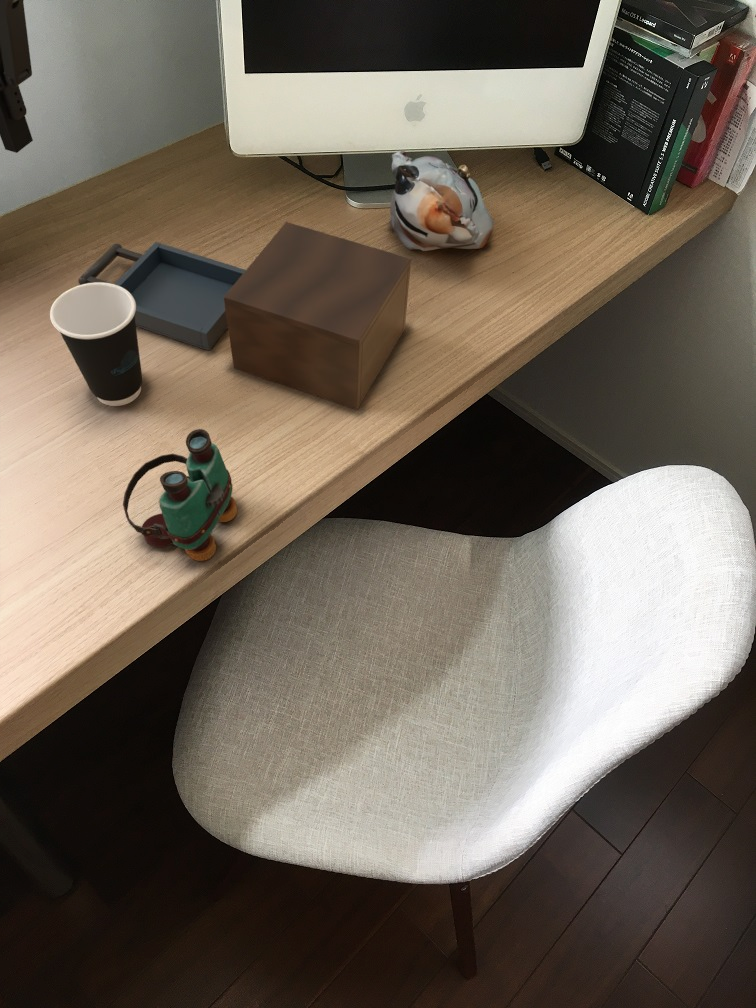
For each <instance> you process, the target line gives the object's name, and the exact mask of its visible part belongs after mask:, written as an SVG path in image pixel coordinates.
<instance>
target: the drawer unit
mask: <svg viewBox="0 0 756 1008" xmlns="http://www.w3.org/2000/svg"><path fill="white" fill-rule="evenodd" d="M411 267H412V258H410V257H407V256H404V255H400V254H397V253H393V252H390V251H387V250H383V249H379V248H377V247H374V246H370V245H366V244H363V243H360V242H356V241H353V240H350V239H346V238H344V237H339V236H336V235H332V234H329V233H326V232H322V231H319V230H315V229H312V228H309V227H305V226H303V225H298V224H295V223H292V222H288V221H286V222H285V223H283V225H282V226H281V227H280V228H279V230H277V232H276V233H275V234H274V236H273V237H272V238H271V240H269V242H268V243H267V244H266V246H264V248H263V249H262V250H261V251H260V252H259V253H258V255H257V256H256V257H255V259H253V261H252V262H251V264H250V265H249V266H248V267H247V268H246V269H245V270H246V271H245V272H244V273H243V274H242V276H241V277H240V278H239V279H238V280H237V282H236V283H235V284H234V285H233V286H232V288H231V289H230V290H229V291H228V292H227V294H226V295H225V296H224V303H225V310H226V317H227V324H228V328H227V330H228V338H229V344H230V352H231V358H232V366H233V369H235V370H239V371H241V372H244V373H247V374H250V375H253V376H256V377H259V378H262V379H265V380H268V381H270V382H274V383H276V384H280V385H283V386H285V387H288V388H291V389H294V390H297V391H300V392H303V393H305V394H309V395H312V396H314V397H318V398H321V399H324V400H327V401H330V402H332V403H335V404H339V405H341V406H344V407H348V408H350V409H353V410H356V411H358V410H359V407H360V406H361V404H362V402H363V401H364V399H365V397H366V395H367V394H368V392H369V391H370V388H371V387H372V386H373V384H374V381H375V380H376V378H377V377H378V375H379V373H380V372H381V370H382V368H383V366H384V365H385V363H386V362H387V360H388V358H389V357H390V355H391V354H392V352H393V350H394V348H395V347H396V344H397V343H398V341H399V340H400V338H401V336H402V334H403V333H404V331H405V329H406V321H407V309H408V297H409V289H410V288H409V287H410V277H411Z"/></svg>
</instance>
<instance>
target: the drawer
mask: <svg viewBox="0 0 756 1008" xmlns="http://www.w3.org/2000/svg"><path fill="white" fill-rule="evenodd" d="M117 257H119V258H123V259H125V260H129V261H132V262H134V263H133V264H132V265H131V267H129V268H128V269H127V270H126V271H125V272H124V273H123V275H122V276H121V277H120V278H119V279H118V280H117V281H115V283H113V282H110V281H107V280H104V279H101V278H98V276H99V275H100V274H101V273H102V272H103V271H105V269H106V268H107V267H109V265H110V264H112V262H113V261H114V260H116V258H117ZM246 270H247V269H244V268H242V267H238V266H234V265H232V264H228V263H225V262H222V261H219V260H216V259H213V258H209V257H206V256H202V255H200V254H197V253H193V252H190V251H187V250H183V249H181V248H177V247H174V246H171V245H167V244H164V243H161V242H158V241H155V242H154V243H153V244H152V245H151V246H150V247H149V248H148V249H147V250H146V251H145V252H144V253H139V252H136V251H133V250H129V249H127V248H123V246H122V245H121V244H120V243H114V244H112V245H111V246H110V247H109V248H108V249H107V250H106V251H105V252H104V253H103V254H102V255H101V256H100V257H99V258H98V259H97V260H96V261H95V262H93V264H92V265H90V266H89V268H88V269H87V270H85V272H84V273H83V274H81V275H80V277H79V278H78V281H77V283H78V284H79V285H82V284H87V283H95V282H102V283H110V284H115V285H118V286H120V287H122V288H124V289H126V290H127V291H128V292H129V293H130V294H131V295H132V296H133V298H134V300H135V303H136V311H135V314H134V315H135V323H136V328H137V327H138V328H141V329H144V330H147V331H149V332H153V333H155V334H159V335H162V336H163V337H167V338H170V339H173V340H176V341H178V342H182V343H185V344H188V345H191V346H194V347H197V348H200V349H202V350H205V351H210V350H211V349H212V348H213V347H214V346H215V344H216V343H217V342H218V340H219V339H220V338H221V337H222V336H223V334H224V333H225V332H226V331H227V330H228V324H227V317H226V310H225V303H224V296H225V295H226V294H227V292H228V291H229V290H230V289H231V288H232V286H233V285H234V284H235V283H236V282H237V280H238V279H239V278H240V277H241V276H242V274H243V273H244V272H245V271H246Z"/></svg>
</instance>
